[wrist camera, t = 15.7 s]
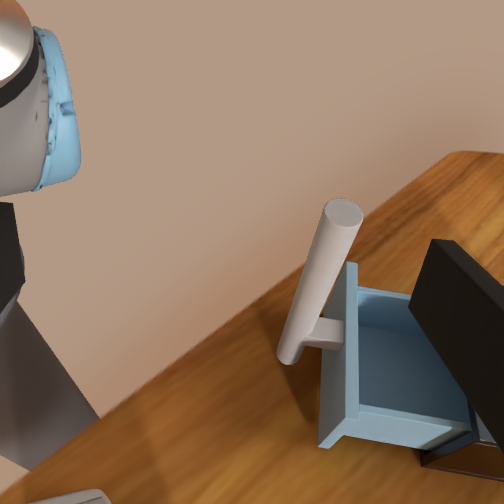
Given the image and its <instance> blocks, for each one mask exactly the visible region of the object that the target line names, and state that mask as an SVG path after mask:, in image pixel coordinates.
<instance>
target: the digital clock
mask: <svg viewBox="0 0 504 504" xmlns="http://www.w3.org/2000/svg"><path fill="white" fill-rule="evenodd" d="M27 504H112V503H111V502H110V500H109V499H108V497H107V496H106V495H105V493H104V492H103V491H101V490H100V489H87V490H81V491H77V492H72V493H68V494H64V495H60V496H56V497H52V498H48V499H43V500H39V501H35V502H31V503H27Z"/></svg>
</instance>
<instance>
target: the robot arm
mask: <svg viewBox="0 0 504 504" xmlns="http://www.w3.org/2000/svg"><path fill="white" fill-rule="evenodd" d="M80 163H81V150H80V139H79V132H78V125H77V119H76V114H75V111H74V109H73V100H72V91H71V86H70V82H69V77H68V73H67V69H66V65H65V61H64V57H63V54H62V50H61V47H60V45H59V42H58V40H57V37H56V36H55V34H54V33H53V32H52V31H50V30H47V29H41V28H39V27H36V26H33V27H32V26H31V23H30V21H29V18H28V16H27V15H26V13H25V11H24V10H23V8H22V7H21V6H20V4H19V3H17V2H16V0H0V197H1V196H7V195H12V194H17V193H23V192H28V191H32V192H33V191H38V190H40V189H41V188H42V187H44V186H48V185H52V184H55V183H59V182H64V181H67V180H69V179H71V178H72V177H74V176H75V175H76V173H77V172H78V170H79V167H80ZM24 283H25V276H24V269H23V263H22V257H21V250H20V244H19V238H18V233H17V226H16V219H15V213H14V208H13V203H7V202H0V313H1V312H2V311H3V310H4V308H5V307H6V306H7V304H8V303H9V302H10V301H11V299H12V298H13V297H14V296H15V294H16V293H17V292H18V290H19V289H20V288H21V287H22V285H23V284H24ZM408 309H409V310H410V312H411V313H412V315H413V316H414V318H415V319H416V321H417V322H418V324H419V325H420V327H421V328H422V330H423V332H424V333H425V335H426V336H427V338H428V339H429V341H430V342H431V344H432V345H433V347H434V348H435V350H436V352H437V353H438V355H439V356H440V358H441V359H442V361H443V362H444V364H445V365H446V367H447V368H448V370H449V371H450V373H451V375H452V376H453V378H454V379H455V381H456V382H457V384H458V385H459V387H460V388H461V390H462V391H463V393H464V394H465V396H466V398H467V399H468V401H469V402H470V404H471V405H472V407H473V408H474V410H475V411H476V413H477V414H478V416H479V418H480V419H481V421H482V422H483V424H484V425H485V427H486V428H487V430H488V431H489V433H490V434H491V436H492V437H493V439H494V441H495V442H496V444H497V445H498V447H499V448H500V450H501V451H502V453H503V454H504V287H503V286H502V285H501V284H500V283H499V282H498V281H496V280H495V279H494V278H493V277H492V276H491V275H490V274H489V273H488V272H487V271H486V270H485V269H484V268H483V267H482V266H480V265H479V264H478V263H477V262H476V261H475V260H474V259H473V258H472V257H471V256H470V255H469V254H468V253H467V252H465V251H464V250H463V249H462V248H461V247H460V246H459V245H458V244H457V243H456V242H455V241H452V240H441V239H432V240H431V243H430V246H429V248H428V251H427V254H426V257H425V260H424V262H423V265H422V268H421V271H420V273H419V276H418V279H417V282H416V285H415V287H414V290H413V293H412V296H411V299H410V301H409V304H408Z"/></svg>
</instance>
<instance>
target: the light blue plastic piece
mask: <svg viewBox="0 0 504 504" xmlns="http://www.w3.org/2000/svg"><path fill="white" fill-rule="evenodd" d="M362 221H363V212H362V210H361V208H360V207H359V206H358V205H357V204H356V203H354V202H352V201H350V200H348V199H343V198H336V199H333V200H331V201H329V202H327V203H326V205H325V206H324V209H323V212H322V215H321V218H320V221H319V224H318V227H317V230H316V233H315V236H314V239H313V242H312V245H311V248H310V251H309V254H308V257H307V260H306V263H305V266H304V269H303V272H302V275H301V278H300V281H299V284H298V287H297V290H296V293H295V296H294V299H293V302H292V305H291V308H290V311H289V314H288V317H287V320H286V323H285V326H284V329H283V332H282V335H281V338H280V341H279V344H278V347H277V350H276V355H277V358H278V359H279V360H280V361H281V362H282V363H283V364H286V365H292V364H295V363H296V362H298V360H299V358H300V356H301V354H302V352H303V350H304V348H305V345H306V346H312V347H317V348H322V362H321V383H320V404H319V426H318V447H321V448H326V449H329V448H330V447H331V446H332V445H333V444H334V443H335V442H336V441H338V440H339V439H340V438H341V437H342V436H343V435H346V436H352V437H357V438H363V439H368V440H374V441H379V442H385V443H391V444H396V445H402V446H407V447H413V448H418V449H424V450H429V451H433V450H435V449H437V448H439V447H441V446H443V445H445V444H447V443H449V442H451V441H453V440H455V439H457V438H459V437H461V436H463V435H465V434H467V433H469V432H471V431H472V428H471V423H470V417H469V411H468V405H467V399H466V396H465V394H464V393H463V391H462V390H461V388H460V387H459V385H458V384H457V382H456V381H455V379H454V378H453V376H452V375H451V373H450V371H449V370H448V368H447V367H446V365H445V364H444V362H443V361H442V359H441V358H440V356H439V355H438V353H437V352H436V350H435V348H434V347H433V345H432V344H431V342H430V341H429V339H428V338H427V336H426V335H425V333H424V332H423V330H422V328H421V327H420V325H419V324H418V322H417V321H416V319H415V318H414V316H413V315H412V313H411V312H410V310H409V309H408V304H409V301H410V299H411V296H412V295H408V294H402V293H396V292H390V291H385V290H379V289H373V288H367V287H362V286H358V274H357V263H353V262H346V264H345V266H344V268H343V270H342V272H341V274H340V277H339V279H338V281H337V283H336V285H335V287H334V289H333V292H332V294H331V296H330V298H329V300H328V302H327V304H326V306H325V309H324V318H323V317H319V315H320V313H321V310H322V308H323V306H324V304H325V302H326V300H327V297H328V295H329V293H330V291H331V289H332V286H333V284H334V282H335V280H336V278H337V276H338V273H339V271H340V269H341V267H342V265H343V262H344V260H345V258H346V256H347V254H348V252H349V249H350V247H351V245H352V243H353V241H354V238H355V236H356V234H357V232H358V230H359V228H360V225H361V223H362Z"/></svg>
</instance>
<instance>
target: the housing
mask: <svg viewBox="0 0 504 504" xmlns="http://www.w3.org/2000/svg"><path fill="white" fill-rule="evenodd" d="M503 287H504V286H503ZM466 399H467V398H466ZM467 405H468V411H469V417H470V423H471V428H472V431H471V432H469V433H467V434H465V435H463V436H461V437H459V438H457V439H455V440H453V441H451V442H449V443H447V444H445V445H443V446H441V447H439V448H437V449H435V450H433V451H429V450H424V449H420V460H421V467H425V468H430V469H436V470H442V471H447V472H453V473H458V474H464V475H469V476H475V477H480V478H486V479H491V480H497V481H502V482H504V454H503V453H502V451H501V450H500V448H499V447H498V445H497V444H496V442H495V441H494V439H493V437H492V436H491V434H490V433H489V431H488V430H487V428H486V427H485V425H484V424H483V422H482V421H481V419H480V418H479V416H478V414H477V413H476V411H475V410H474V408H473V407H472V405H471V404H470V402H469V401H468V399H467Z"/></svg>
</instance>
